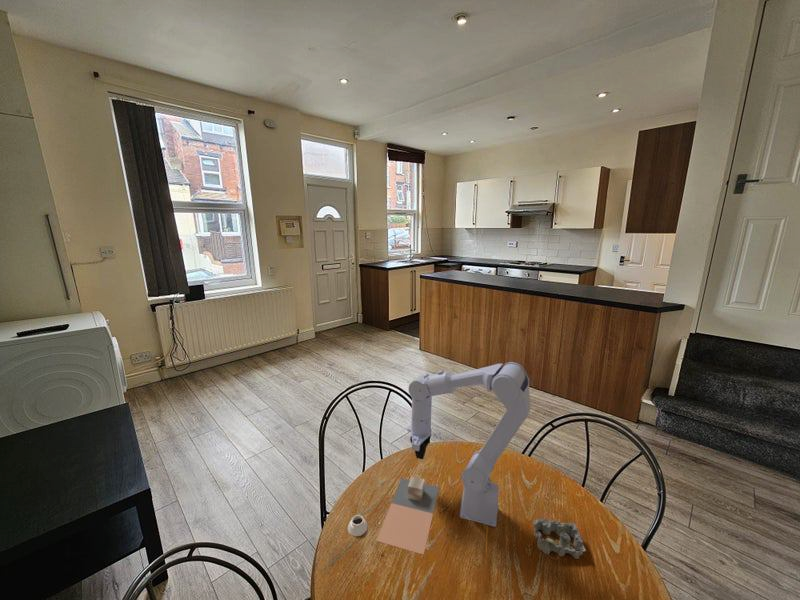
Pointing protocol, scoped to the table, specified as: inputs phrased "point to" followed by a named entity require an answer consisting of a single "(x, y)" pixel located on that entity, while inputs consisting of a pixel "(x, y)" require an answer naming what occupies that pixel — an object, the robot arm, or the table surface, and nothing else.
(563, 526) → the egg carton
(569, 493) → the table surface
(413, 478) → the cream block
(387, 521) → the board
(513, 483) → the table surface
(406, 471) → the table surface
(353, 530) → the white jar
